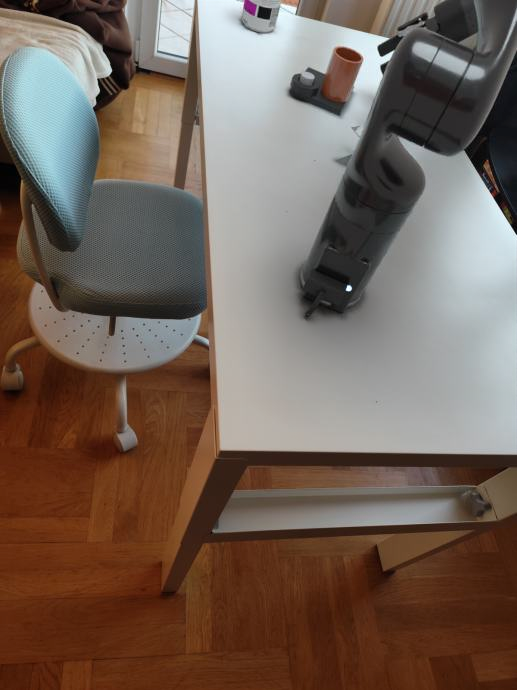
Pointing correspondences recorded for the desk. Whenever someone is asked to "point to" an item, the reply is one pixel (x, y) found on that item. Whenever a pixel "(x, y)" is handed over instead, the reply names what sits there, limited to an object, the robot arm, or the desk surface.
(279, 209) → the desk surface
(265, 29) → the supplement can
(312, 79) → the button
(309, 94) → the scale
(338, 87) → the terracotta flower pot
